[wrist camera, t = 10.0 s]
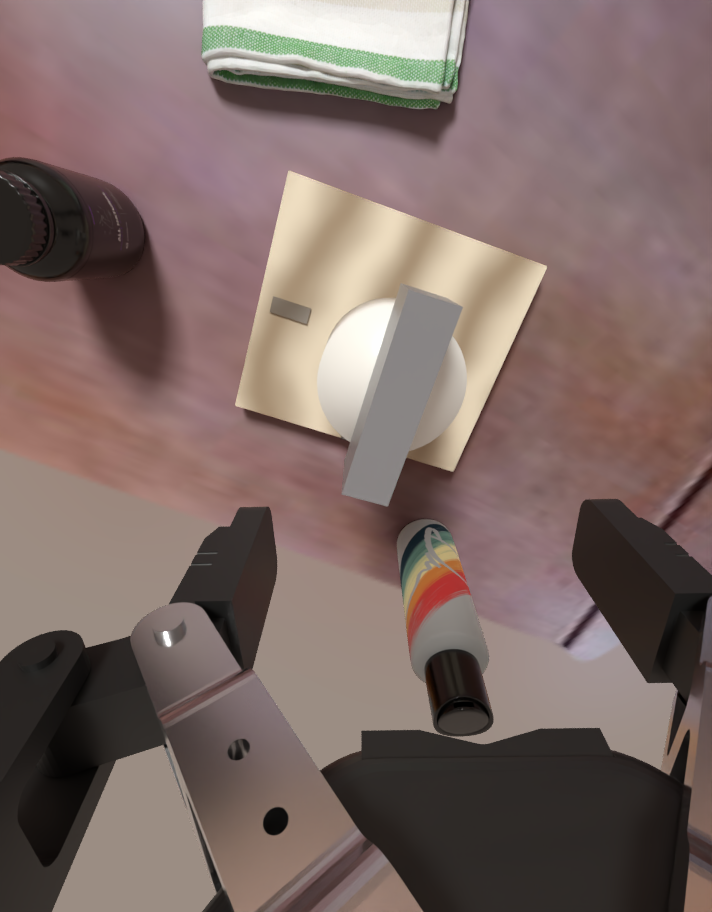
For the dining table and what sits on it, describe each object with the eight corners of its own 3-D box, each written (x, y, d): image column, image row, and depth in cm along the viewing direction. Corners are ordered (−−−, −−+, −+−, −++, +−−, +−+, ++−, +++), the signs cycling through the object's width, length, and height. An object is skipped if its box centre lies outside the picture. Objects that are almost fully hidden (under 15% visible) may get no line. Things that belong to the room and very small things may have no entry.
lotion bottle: (452, 516, 46) (514, 693, 28) (451, 562, 48) (507, 755, 30) (395, 518, 46) (418, 696, 28) (396, 565, 48) (418, 757, 30)
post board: (538, 265, 36) (597, 271, 27) (449, 462, 43) (473, 519, 34) (292, 174, 34) (267, 147, 25) (240, 398, 41) (206, 441, 32)
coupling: (348, 262, 27) (343, 268, 19) (476, 304, 28) (524, 327, 19) (306, 418, 31) (286, 479, 23) (419, 450, 32) (439, 520, 23)
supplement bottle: (165, 228, 35) (78, 219, 25) (116, 295, 38) (16, 314, 27) (86, 154, 34) (-46, 109, 23) (40, 229, 36) (-102, 220, 25)
